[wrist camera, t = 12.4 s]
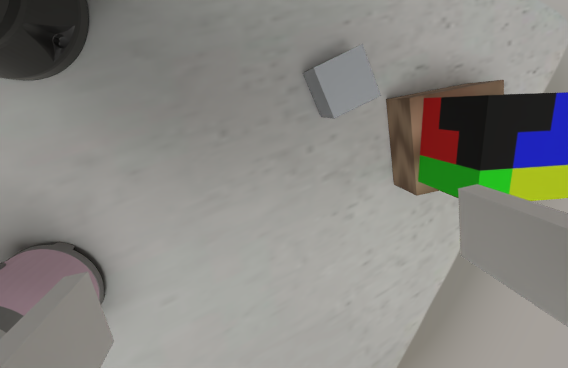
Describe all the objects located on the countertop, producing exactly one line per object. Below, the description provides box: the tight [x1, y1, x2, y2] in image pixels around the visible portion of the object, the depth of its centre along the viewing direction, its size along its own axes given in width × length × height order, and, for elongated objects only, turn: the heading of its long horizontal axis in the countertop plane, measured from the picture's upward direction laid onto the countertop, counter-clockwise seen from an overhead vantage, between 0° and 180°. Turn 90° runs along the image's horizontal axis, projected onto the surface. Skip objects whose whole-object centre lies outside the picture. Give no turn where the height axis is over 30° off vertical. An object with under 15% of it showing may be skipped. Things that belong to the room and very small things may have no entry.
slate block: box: [303, 44, 381, 118], centre depth 39 cm, size 6×6×6 cm
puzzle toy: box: [418, 93, 568, 201], centre depth 34 cm, size 10×10×10 cm
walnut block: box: [386, 80, 504, 195], centre depth 42 cm, size 12×12×6 cm
